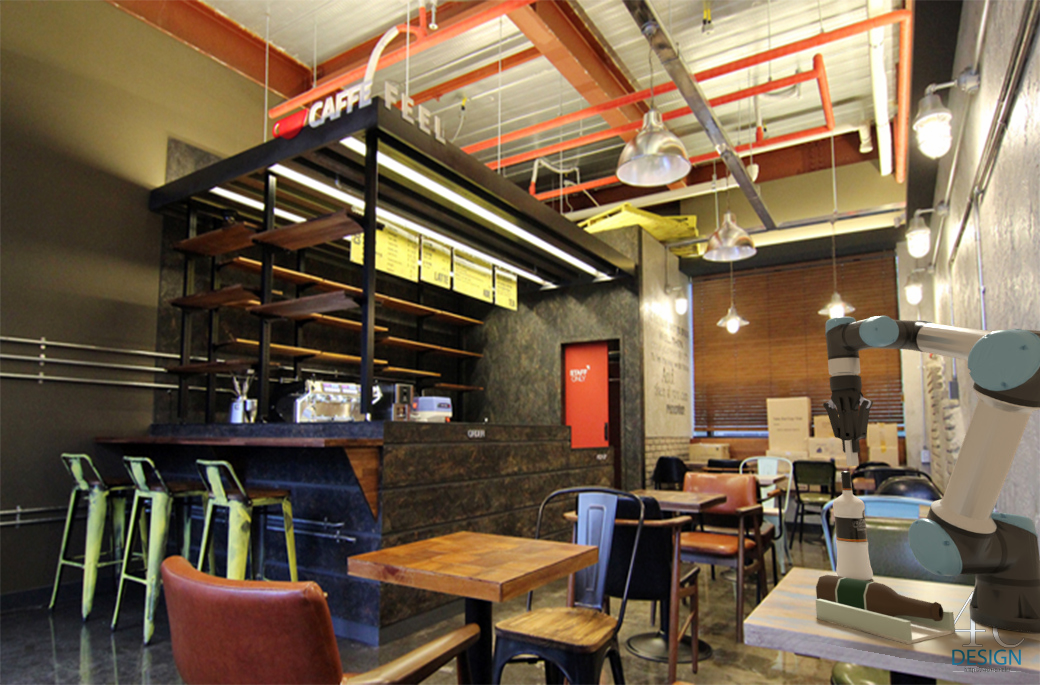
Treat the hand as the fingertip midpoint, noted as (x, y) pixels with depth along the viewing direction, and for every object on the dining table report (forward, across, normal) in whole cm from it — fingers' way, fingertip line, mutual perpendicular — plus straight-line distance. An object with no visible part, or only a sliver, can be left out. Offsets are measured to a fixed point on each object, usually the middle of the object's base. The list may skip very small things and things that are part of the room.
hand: (852, 465), depth 163 cm
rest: (+32, -18, +20) cm, 42 cm away
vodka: (+33, +15, -18) cm, 40 cm away
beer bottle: (+28, -4, +20) cm, 35 cm away
